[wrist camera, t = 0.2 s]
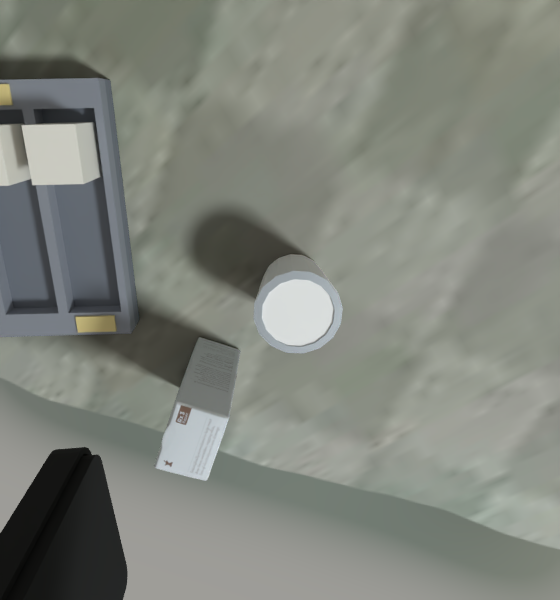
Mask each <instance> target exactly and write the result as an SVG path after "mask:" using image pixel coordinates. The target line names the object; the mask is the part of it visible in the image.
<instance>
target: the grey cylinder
mask: <svg viewBox="0 0 560 600" xmlns="http://www.w3.org/2000/svg"><path fill="white" fill-rule="evenodd" d="M342 309H343V307H342V304H341V301H340V298H339V294H338V292H337V290H336V289H335V288H334V286H333V285H332V283H331V282H330V280H329V279H328V278H327V276H326V275H325V273H324V272H323V270H322V269H321V268H320V267H319V266H318V265H317V263H316V262H315V261H314V260H312V259H310V258H308V257H306V256H304V255H296V254H289V255H286V256H283V257H280V258H278V259H276V260H275V261H274V262H273V263H272V264H270V265H269V266H268V268H267V270H266V272H265V274H264V276H263V279H262V282H261V285H260V288H259V291H258V294H257V297H256V300H255V304H254V321H255V324H256V327H257V329H258V332H259V334H260V335H261V336H262V337H263V338H264V339H265V340H266V341H267V342H268V343H269V345H270V346H272V347H275V348H277V349H279V350H281V351H284V352H286V353H306V352H309V351H312V350H316V349H319V348H320V347H322V346H323V345H324V344H326V343H327V342H328V341H329V340H331V339H332V338H333V336H334V335H335V333H336V331H337V329H338V328H339V326H340V324H341V317H342Z"/></svg>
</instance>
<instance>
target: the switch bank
mask: <svg viewBox="0 0 560 600" xmlns="http://www.w3.org/2000/svg"><path fill="white" fill-rule="evenodd" d="M74 122H96V129H97V137H98V144H99V152H100V159H101V167H102V174H103V176H102V177H99V178H97V179H95V180H92V181H90V182H88V183H85V184H65V185H32V181H31V179H29V180H26V181H23V182H19V183H16V184H13V185H10V186H0V337H14V336H53V335H92V334H130V333H132V331H133V330H134V328H135V326H136V325H137V323H138V321H139V312H138V304H137V296H136V288H135V280H134V271H133V263H132V255H131V247H130V238H129V230H128V222H127V214H126V205H125V197H124V189H123V181H122V173H121V164H120V156H119V148H118V140H117V131H116V123H115V115H114V107H113V98H112V90H111V82H110V80H107V79H101V78H72V79H16V80H0V124H21V123H25V125H29V124H41V123H74Z"/></svg>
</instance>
